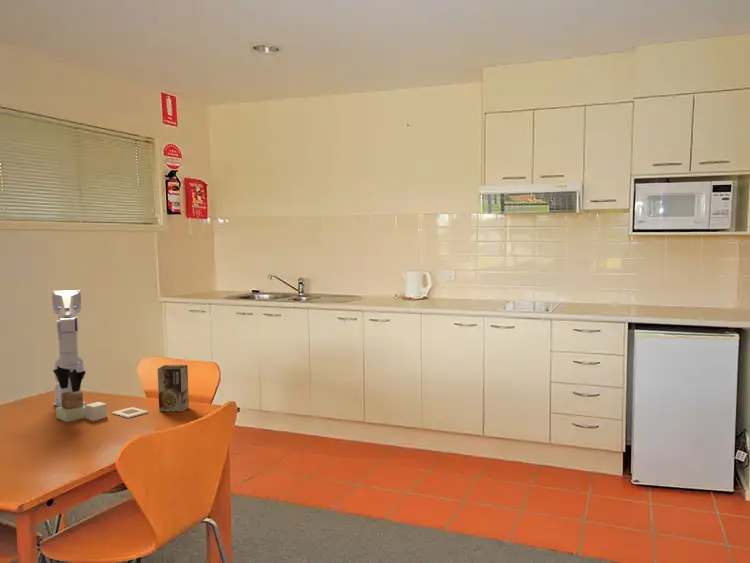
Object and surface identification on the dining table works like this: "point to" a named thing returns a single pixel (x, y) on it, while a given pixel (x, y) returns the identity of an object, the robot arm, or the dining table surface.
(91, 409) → the grey cube
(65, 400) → the walnut cube
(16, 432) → the dining table surface
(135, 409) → the card
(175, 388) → the coffee box
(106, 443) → the dining table surface
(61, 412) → the base block
